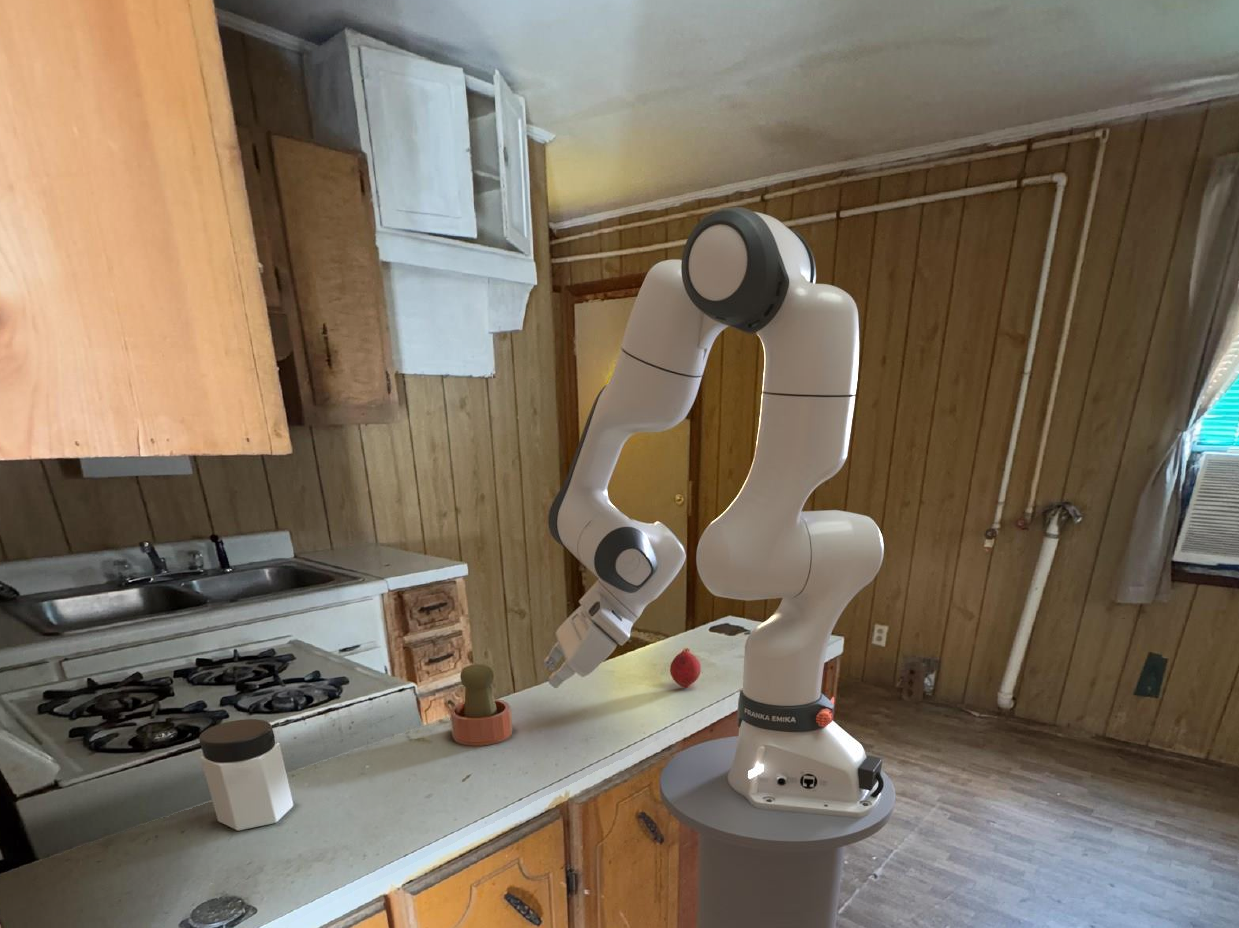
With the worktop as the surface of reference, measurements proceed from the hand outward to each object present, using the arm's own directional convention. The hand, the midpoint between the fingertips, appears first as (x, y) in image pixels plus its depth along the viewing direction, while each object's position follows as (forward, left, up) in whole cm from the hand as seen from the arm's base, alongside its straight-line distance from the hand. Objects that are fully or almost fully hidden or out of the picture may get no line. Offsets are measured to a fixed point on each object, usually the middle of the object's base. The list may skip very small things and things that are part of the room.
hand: (548, 675), depth 120 cm
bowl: (+9, +6, -9) cm, 15 cm away
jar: (+21, +40, -10) cm, 47 cm away
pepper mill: (+10, +6, -9) cm, 15 cm away
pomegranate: (-14, -28, -10) cm, 32 cm away
